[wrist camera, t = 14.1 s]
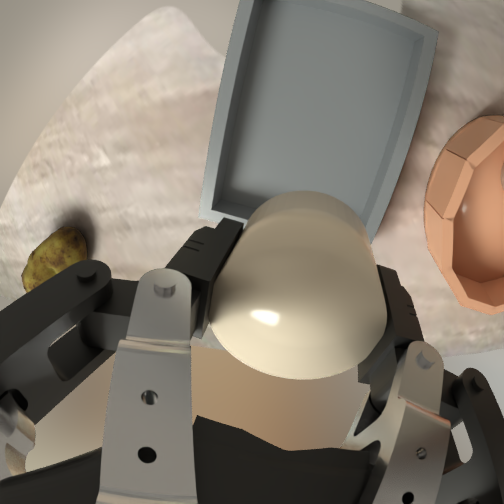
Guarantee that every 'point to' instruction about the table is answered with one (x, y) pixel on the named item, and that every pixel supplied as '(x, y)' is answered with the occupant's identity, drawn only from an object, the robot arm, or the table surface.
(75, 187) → the table surface
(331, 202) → the pebble
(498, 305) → the bowl
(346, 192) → the tray
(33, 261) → the potato
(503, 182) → the pebble
